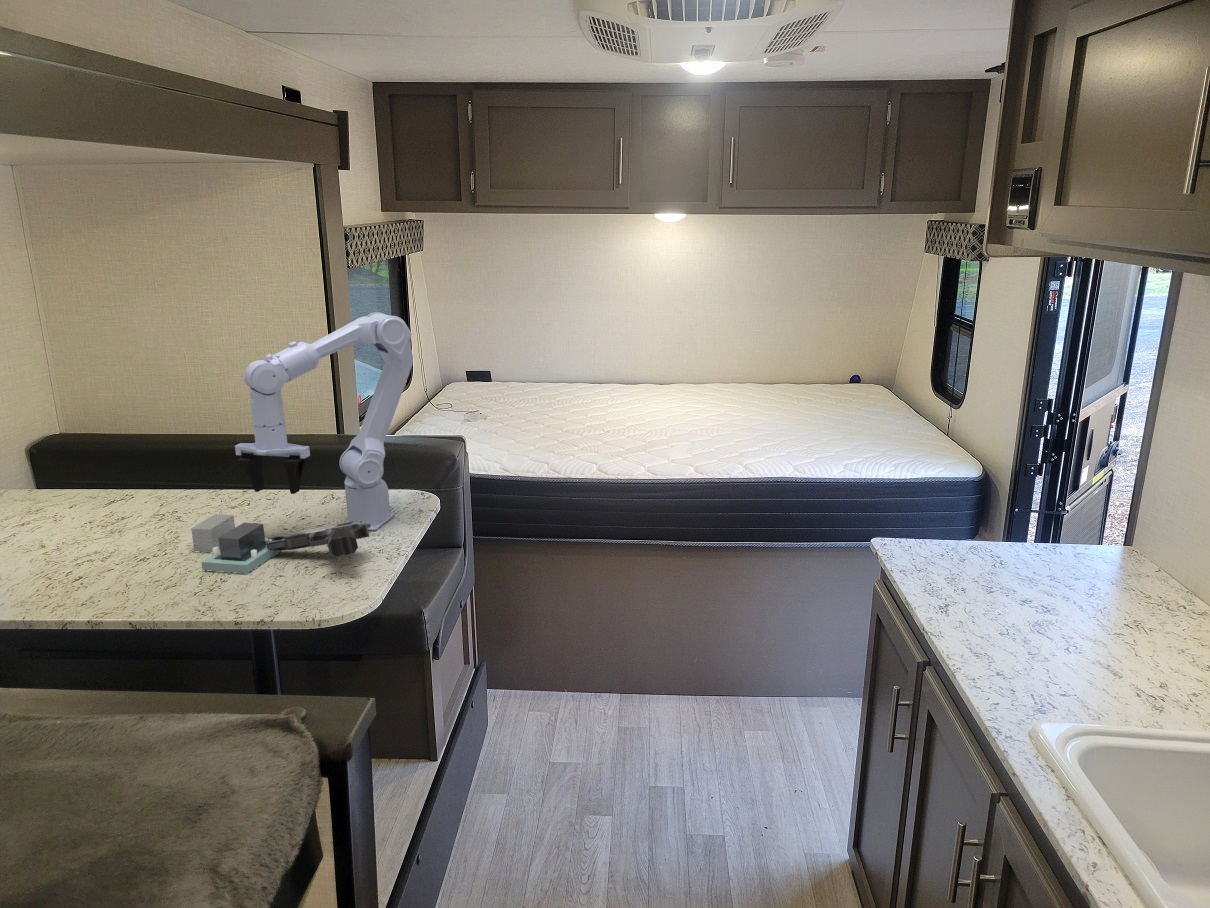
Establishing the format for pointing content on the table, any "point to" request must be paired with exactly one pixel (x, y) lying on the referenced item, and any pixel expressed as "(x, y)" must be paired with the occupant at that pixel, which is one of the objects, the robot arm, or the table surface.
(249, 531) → the dark grey rectangular block
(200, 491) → the table surface
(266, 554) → the tray
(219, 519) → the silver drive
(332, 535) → the handgun
